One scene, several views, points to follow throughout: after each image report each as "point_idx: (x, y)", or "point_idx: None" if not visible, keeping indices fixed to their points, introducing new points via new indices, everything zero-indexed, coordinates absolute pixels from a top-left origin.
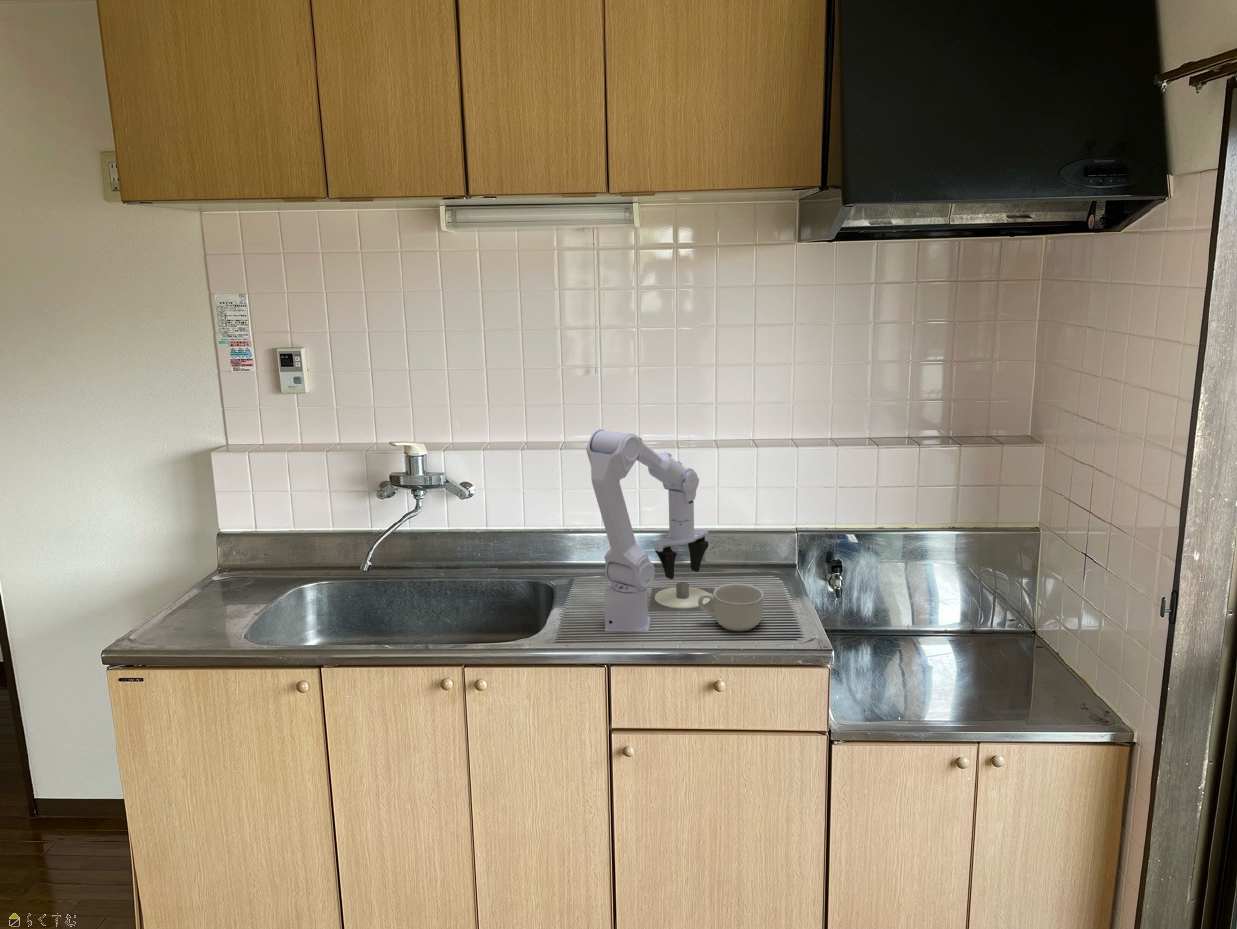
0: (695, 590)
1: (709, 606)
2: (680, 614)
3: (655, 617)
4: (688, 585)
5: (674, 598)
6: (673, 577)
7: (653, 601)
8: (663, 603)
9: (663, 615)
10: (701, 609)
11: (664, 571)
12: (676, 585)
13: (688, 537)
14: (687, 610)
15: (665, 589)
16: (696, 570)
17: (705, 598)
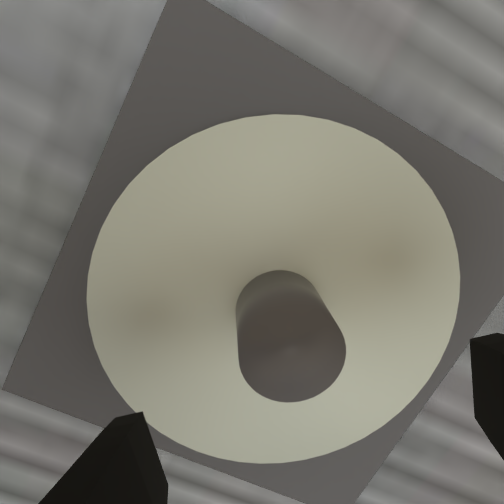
0: (412, 246)
1: (352, 459)
2: (170, 464)
3: (23, 451)
4: (325, 387)
5: (214, 319)
6: (165, 501)
7: (80, 262)
8: (111, 365)
9: (76, 443)
10: (292, 476)
11: (78, 460)
12: (238, 351)
13: None
14: (217, 463)
15: (232, 130)
16: (484, 422)
17: (386, 392)
